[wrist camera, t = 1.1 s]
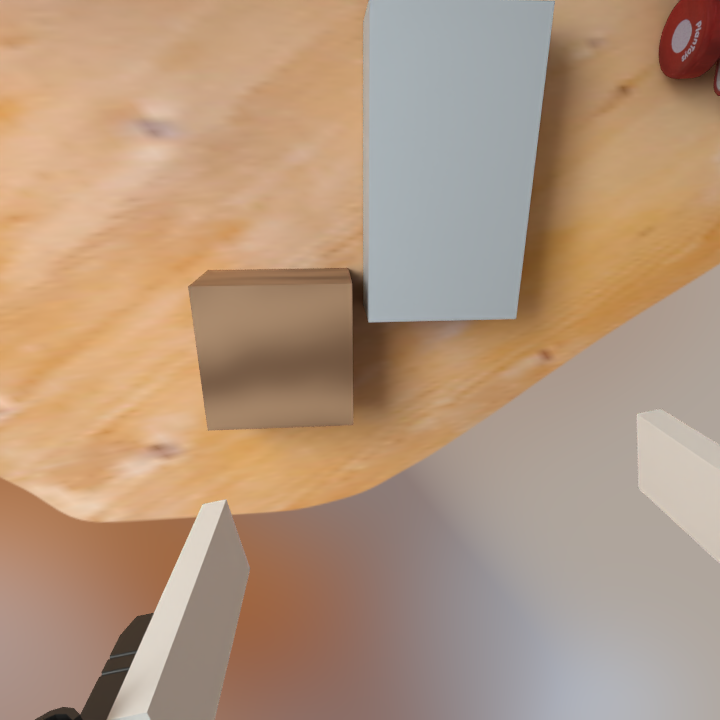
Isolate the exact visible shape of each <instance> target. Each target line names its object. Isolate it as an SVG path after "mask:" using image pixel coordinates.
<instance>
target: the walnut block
mask: <svg viewBox="0 0 720 720" xmlns="http://www.w3.org/2000/svg"><path fill="white" fill-rule="evenodd" d="M188 288H189V295H190V303H191V310H192V317H193V325H194V332H195V339H196V347H197V354H198V361H199V369H200V376H201V383H202V391H203V398H204V406H205V413H206V420H207V428H208V430H234V429H261V428H287V427H314V426H340V425H353V323H352V281H351V277H350V274H349V270H348V268H325V269H259V270H208V271H206V272H205V273H204V274H203V275H202V276H200V277H199V278H198V279H197V280H196V281H194V282H193V283H192V284H191V285H190V286H188Z"/></svg>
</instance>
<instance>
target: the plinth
mask: <svg viewBox="0 0 720 720" xmlns="http://www.w3.org/2000/svg"><path fill="white" fill-rule="evenodd" d="M554 4H555V1H541V0H369V1H368V5H367V9H366V13H365V17H364V21H363V306H364V309H365V312H366V316H367V319H368V322H407V321H449V320H491V319H516V316H517V307H518V299H519V291H520V283H521V274H522V266H523V258H524V250H525V242H526V233H527V225H528V217H529V209H530V201H531V192H532V184H533V176H534V168H535V160H536V151H537V143H538V135H539V127H540V119H541V110H542V102H543V94H544V86H545V78H546V69H547V61H548V53H549V45H550V37H551V28H552V20H553V12H554Z"/></svg>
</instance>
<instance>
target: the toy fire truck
mask: <svg viewBox="0 0 720 720" xmlns="http://www.w3.org/2000/svg"><path fill="white" fill-rule="evenodd" d="M659 62H660V66H661V70H662V71H663V73H664V74H665V75H666V76H668V77H670V78H675V79H685V78H695V77H699V76H701V75H702V74H704V73H706V72H707V71H708V70H709V69H710V68H711V67H712V66H713V65H714V64H715V63H716V62H717V63H716V71H715V76H714V91H715V93H716V94H717V95H718V96H720V0H680V1H679V2H678V3H677V5H676V6H675V7H674V9H673V10H672V12H671V14H670V15H669V17H668V19H667V22H666V24H665V27H664V29H663V32H662V36H661V40H660V46H659Z"/></svg>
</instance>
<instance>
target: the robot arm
mask: <svg viewBox="0 0 720 720" xmlns="http://www.w3.org/2000/svg"><path fill="white" fill-rule="evenodd" d="M637 452H638V488H639V490H641V491H642V492H643V493H644V494H645V495H646V496H647V497H648V498H649V499H650V500H651V501H652V502H653V503H655V504H656V505H657V506H658V507H659V508H660V509H661V510H662V511H663V512H664V513H666V515H668V516H669V517H670V518H671V519H672V520H673V521H674V522H675V523H676V524H677V525H678V526H680V527H681V528H682V529H683V530H684V531H685V532H686V533H687V534H688V535H689V536H690V537H691V538H693V540H695V541H696V542H697V543H698V544H699V545H700V546H701V547H702V548H703V549H704V550H705V551H706V552H708V553H709V554H710V555H711V556H712V557H713V558H714V559H715V560H716V561H717V562H719V564H720V445H719V444H717V443H716V442H714V441H713V440H711V439H709V438H708V437H706V436H704V435H703V434H701V433H700V432H698V431H696V430H695V429H693V428H691V427H690V426H688V425H687V424H685V423H683V422H682V421H680V420H678V419H677V418H675V417H674V416H672V415H670V414H669V413H667V412H665V411H664V410H662V409H657V410H652V411H647V412H643V413H638V414H637ZM249 571H250V567H249V564H248V561H247V558H246V555H245V552H244V550H243V547H242V544H241V541H240V538H239V535H238V532H237V529H236V527H235V523H234V521H233V518H232V515H231V512H230V509H229V506H228V503H227V500H226V499H225V500H220V501H216V502H211V503H206V504H202V507H201V509H200V511H199V513H198V516H197V518H196V520H195V522H194V525H193V527H192V529H191V532H190V534H189V536H188V538H187V540H186V543H185V545H184V547H183V549H182V552H181V554H180V556H179V558H178V561H177V563H176V565H175V568H174V570H173V572H172V574H171V576H170V579H169V581H168V583H167V585H166V588H165V590H164V592H163V594H162V597H161V599H160V601H159V603H158V605H157V608H156V610H155V612H154V613H151V614H146V615H141V616H137V617H136V618H135V619H134V620H133V621H132V622H131V624H130V625H129V626H128V627H127V628H126V629H125V631H124V632H123V633H122V634H121V635H120V637H119V639H118V641H117V643H116V645H115V647H114V649H113V651H112V653H111V655H110V659H109V660H108V661H107V663H106V665H105V667H104V669H103V671H102V676H101V677H99V679H98V681H97V682H96V684H95V687H94V689H93V690H92V693H91V695H90V697H89V699H88V700H87V702H86V705H85V707H84V708H83V710H82V712H81V714H79V713H78V712H77V711H76V710H75V709H74V708H67V707H62V708H59V709H55V710H52V711H49V712H47V713H46V714H44V715H43V716H40V717H39V718H37V719H35V720H215V716H216V712H217V708H218V703H219V699H220V695H221V691H222V686H223V682H224V678H225V673H226V669H227V665H228V660H229V656H230V652H231V648H232V644H233V639H234V635H235V631H236V626H237V622H238V618H239V614H240V610H241V605H242V601H243V596H244V592H245V588H246V583H247V580H248V575H249Z"/></svg>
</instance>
